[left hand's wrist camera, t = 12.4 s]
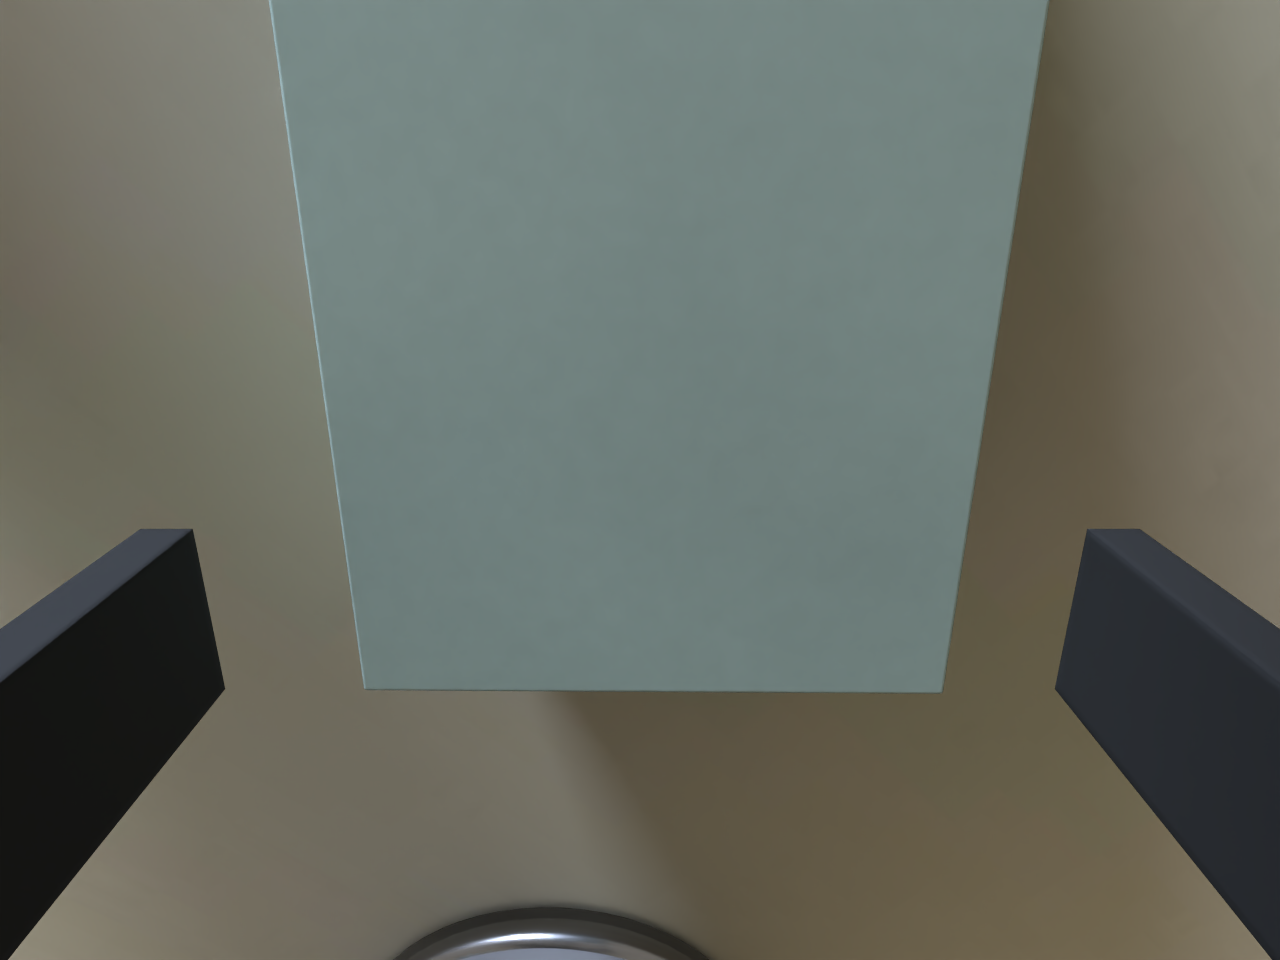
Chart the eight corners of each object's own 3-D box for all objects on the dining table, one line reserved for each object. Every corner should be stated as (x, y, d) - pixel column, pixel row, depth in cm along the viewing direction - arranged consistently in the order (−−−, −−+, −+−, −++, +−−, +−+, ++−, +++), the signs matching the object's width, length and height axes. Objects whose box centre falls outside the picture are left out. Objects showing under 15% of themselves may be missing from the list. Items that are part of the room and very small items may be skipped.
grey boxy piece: (394, -275, 17) (177, -649, 9) (918, -277, 17) (1153, -657, 9) (459, 512, 24) (363, 691, 16) (843, 514, 24) (943, 695, 16)
